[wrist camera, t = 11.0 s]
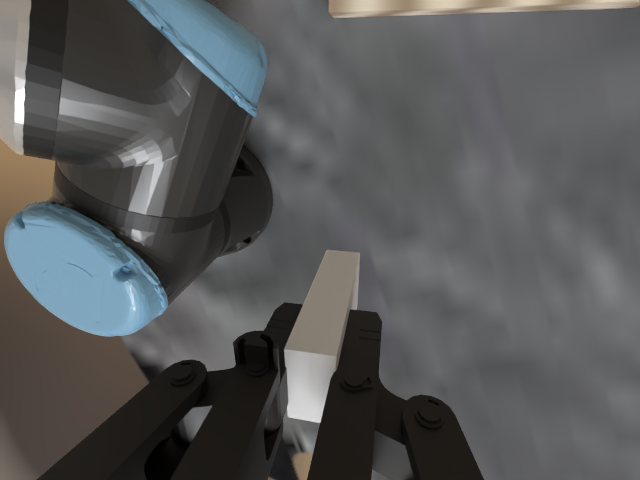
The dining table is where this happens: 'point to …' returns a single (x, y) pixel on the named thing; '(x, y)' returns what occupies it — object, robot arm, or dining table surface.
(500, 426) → the dining table surface
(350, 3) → the button panel
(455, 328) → the dining table surface
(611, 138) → the dining table surface
